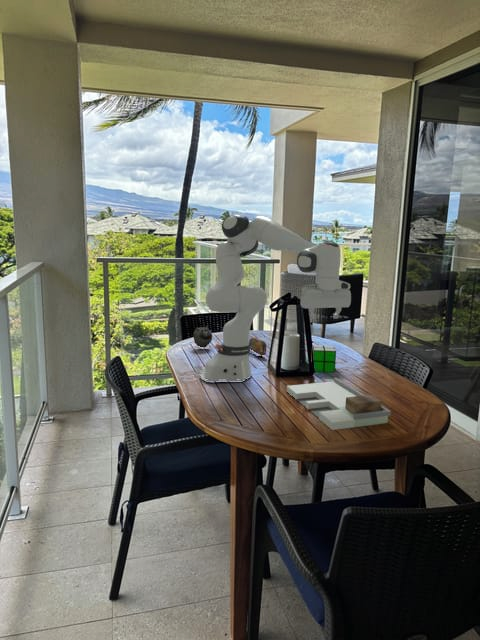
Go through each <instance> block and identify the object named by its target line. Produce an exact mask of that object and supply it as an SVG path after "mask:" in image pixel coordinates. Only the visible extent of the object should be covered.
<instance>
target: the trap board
mask: <svg viewBox="0 0 480 640" xmlns="http://www.w3.org/2000/svg"><path fill="white" fill-rule="evenodd" d="M287 392H288V393H289V396H291V397H292V396H293V397H294V398H295V399H294V398H293V397H292V398H293V399H294V400H296V401H297V402H298V401H299V402H300V403H301V405H302V404H303V405H304V406H305V407H306V408H307V409H306V408H305V407H304V406H303V405H302V406H303V407H304V408H305V409H306V410H308V409H309V410H310V411H311V412H312V413H313V414H312V413H311V412H310V411H309V410H308V411H309V412H310V413H311V414H312V415H314V416H315V417H316V418H317V417H318V418H319V419H318V418H317V419H318V420H320V421H321V423H323V424H324V425H326V426H327V427H328V428H329V429H330V430H331V431H335V430H341V429H342V430H343V429H350V428H351V429H352V428H358V427H367V426H374V425H382V424H388V422H389V421H388V419H389V417H390V416H391V413H392V411H391V410H390V409H389V408H387V407H385V406H383V405H382V404H381V411H377V412H368V413H360V414H352V413H351V412H349V411H348V410H347V409H345V405H346V397H355V396H364V395H365V394H364V393H362V392H360V391H358V390H357V389H355V388H354V387H352V386H351V385H349V384H348V383H346V382H344V381H342V380H341V379H339V378H337V377H333V381H325V382H313V383H304V384H293V385H286V393H287ZM288 393H287V394H288ZM299 402H298V403H299ZM300 403H299V404H300Z"/></svg>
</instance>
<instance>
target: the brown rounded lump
mask: <svg viewBox="0 0 480 640" xmlns="http://www.w3.org/2000/svg"><path fill="white" fill-rule="evenodd" d="M249 344H250V349H251V350H253V351H254V352H256V353H258V354H260V355H261V356H262V355H265V356H266V354H267V342H265V341H264V340H262V339H261V338H259V337H258V338H257V337H250V338H249Z"/></svg>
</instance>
